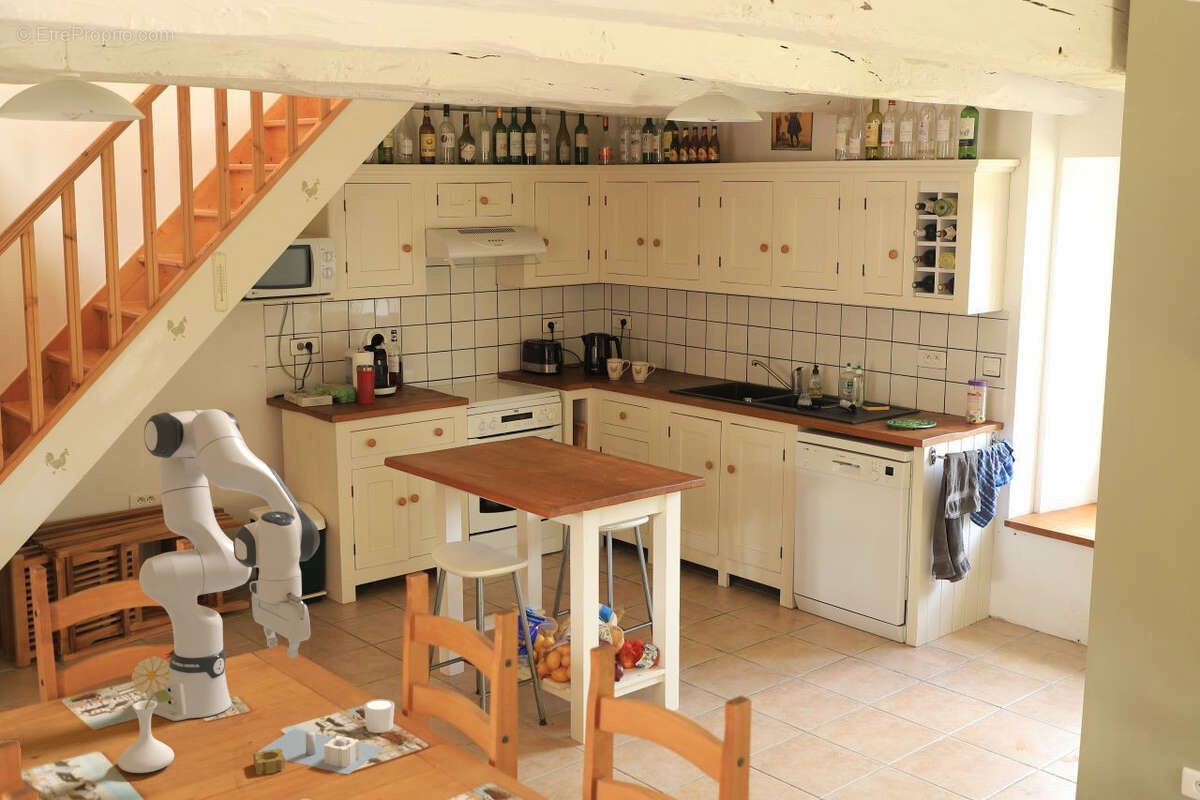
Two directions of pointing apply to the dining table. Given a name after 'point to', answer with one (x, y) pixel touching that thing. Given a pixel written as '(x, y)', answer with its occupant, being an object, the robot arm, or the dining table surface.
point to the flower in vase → (148, 718)
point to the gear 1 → (269, 761)
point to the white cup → (379, 715)
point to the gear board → (316, 750)
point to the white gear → (341, 752)
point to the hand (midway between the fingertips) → (282, 651)
